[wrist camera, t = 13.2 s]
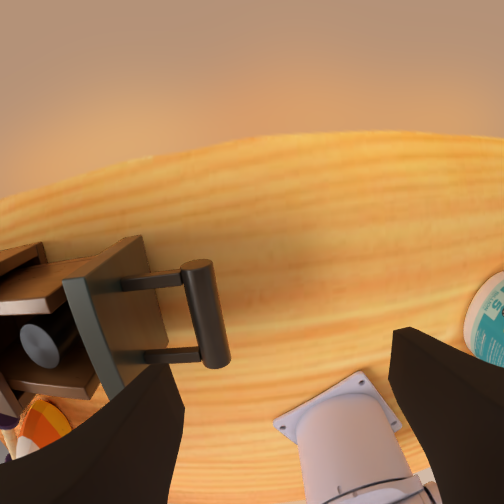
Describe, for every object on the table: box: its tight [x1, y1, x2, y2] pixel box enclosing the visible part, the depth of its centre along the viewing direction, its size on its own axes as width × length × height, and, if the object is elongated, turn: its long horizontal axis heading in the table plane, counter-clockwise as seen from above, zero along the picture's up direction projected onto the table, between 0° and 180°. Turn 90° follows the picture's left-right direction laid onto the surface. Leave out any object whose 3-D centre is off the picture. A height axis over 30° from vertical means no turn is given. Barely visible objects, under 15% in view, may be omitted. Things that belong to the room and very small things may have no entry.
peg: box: [20, 300, 81, 369], centre depth 14 cm, size 3×3×5 cm
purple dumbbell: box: [0, 413, 20, 462], centre depth 22 cm, size 5×5×17 cm
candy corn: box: [16, 399, 72, 459], centre depth 18 cm, size 6×3×8 cm, turn 13°
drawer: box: [0, 235, 231, 401], centre depth 14 cm, size 17×7×7 cm, turn 98°
